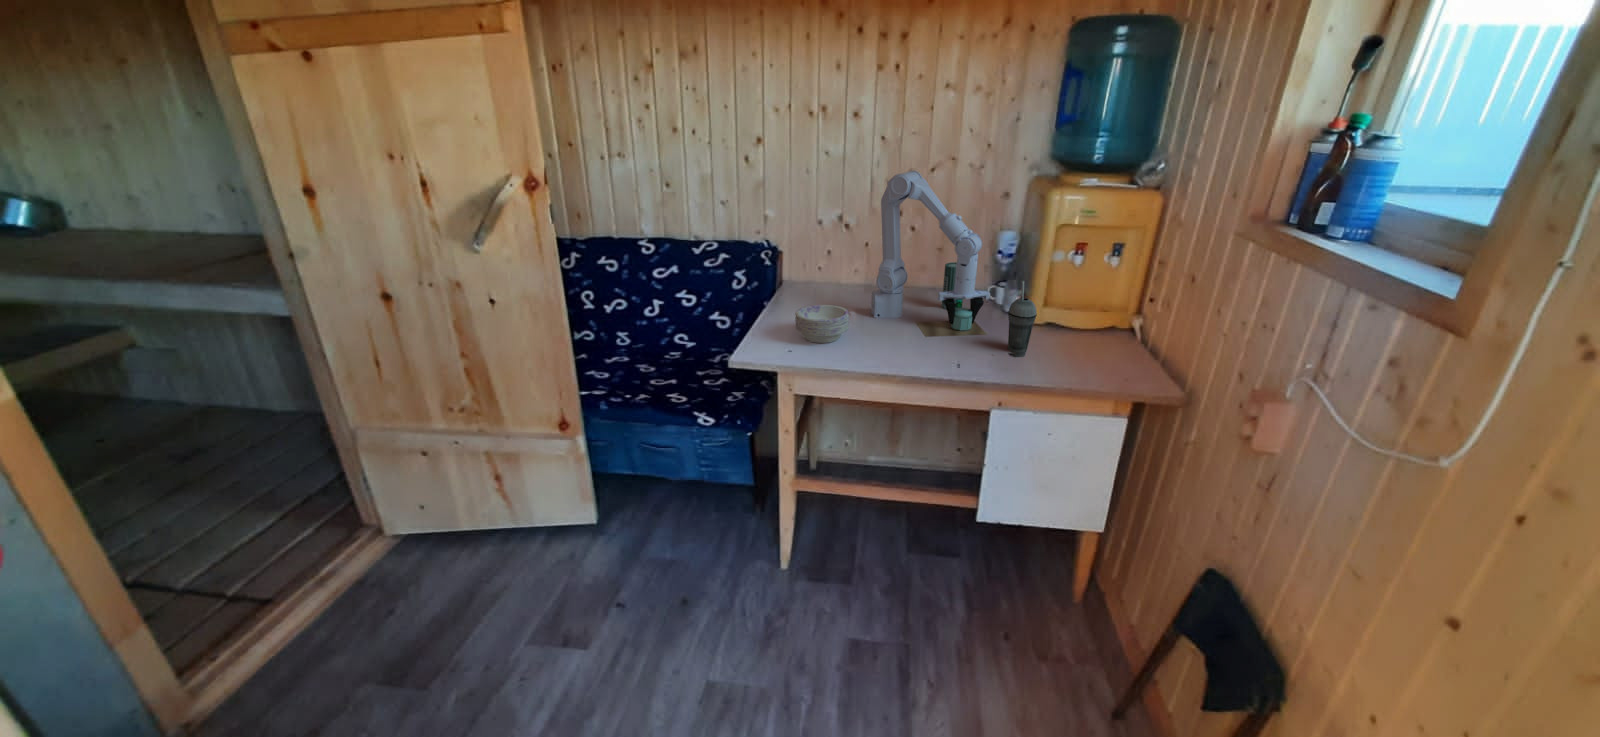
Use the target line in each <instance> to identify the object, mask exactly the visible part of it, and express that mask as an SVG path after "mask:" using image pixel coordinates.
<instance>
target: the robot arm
mask: <svg viewBox="0 0 1600 737" xmlns="http://www.w3.org/2000/svg"><path fill="white" fill-rule="evenodd" d="M886 185H887V186H886V188H885V190H884V192H883V194H882V196H881V201H880V210H881V211H880V212H881V214H880V215H881V236H882V238H881V240H882V246H881V247H882V261H881V263H880V265H879V266H878V275H877V277H876V279H875V280H876V281H875V282H876V283H875V284H876V286H877V288H878V290H873V291H872V292H871V303H870V304H871V305H870V314H871V315H872V317H873V319H897V318H901V317H902V316H903V304H904V303H903V301H904V285H905V284H906V283H907V281H908V273H907V270H906V268H905V261H904V260H903V259H902V248H901V245H902V244H901V242H902V241H901V207H900V206H901V205H902V203H904V202H905V200H907V199H908V200H909V199H910V200H915V201H920V202H921V203H922V204H923V206H925V207H926V208H927V209H928V211H929V212H930V213H932V215H933V216H934V217H935V218H936V219H938V222H939V224H938V225H939V226H938V227H939V229H940V230H941V232H943V234H944V235H945V236H946V237H947V239H948V240H949V241H950V242H951V243H952V244H953V245H954V252H955V254H956V256H957V258H956V262H957V265H956V276H955V286H954V290H953V291H946V292H943V291H938V293H937V300H939V302H940V301H941V302H942V301H944V303H945V306H946V309H947V310H946V309H945V310H946V312H947V316H948V321H949V323H950V324H953V322H954V311H955V307H956V304H955V303H954V302H955V301H954V299H963V300H969V301H970V302H969V303H970V304H969V306H970V307H969V309H970V310H972V324H973V323H974V321H975V319H976V317H977V315H978V313H979V311H980V309H981V308H982V307H983V306H984V304H985V301H984V300H983V299H985V300H990V295H991V293H990V292H989V291H988V290H978V289H977V290H976V280H977V272H978V259H979V252H981V250H982V246H983V242H982V241H983V240H982V238H981V237H980V235H979V234H977V233H975V232H974V231H973V230H972V229H969V227H967V225H966V224H965V222H964V221H963V220H962V219H963V217H962V216H961V215H960V214H959V215H958V214H957V213H956V212H955V213H953V212H949V211H948V210H947V208H946V206H944V204H943V203H942V201H941V200H940V199H939V197H938V196H937V194H935V192H934V190H932V188H931V186H930V185H929V182H928V181H927V180H926V178H924V177H923V176H922V175H921V173H920V172H919V171H917V170H909V171H907V172H903V173H897V174H895V175H893V176H892V177H891V178H889V180H888V181H887V184H886Z"/></svg>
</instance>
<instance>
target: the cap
mask: <svg viewBox="0 0 1600 737" xmlns="http://www.w3.org/2000/svg"><path fill="white" fill-rule="evenodd" d="M971 325H972V310H970V308H967V307H962V308H955V311H954V322H953V324H951V327H952V328H953V329H956V330H969V329H971Z"/></svg>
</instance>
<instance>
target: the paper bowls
mask: <svg viewBox="0 0 1600 737" xmlns="http://www.w3.org/2000/svg"><path fill="white" fill-rule="evenodd" d="M794 319H795V330H796V331H797V332H798V333H800V334H802V336H803V337H804V338H805V339H806V340H807V341H809V342H812V343H815V342H816V343H817V344H827V343H833V342H836V341H838V340H839V339H840V338H841V336H842V334H845V333H846V332H848V330H849V327H850V326H849V325H850V321H849V320H850V312H849V311H848V309H846V308H844V307H842V306H838V305H834V304H833V305H831V304H814V305H809V306H808V305H806V306H803V307H800V308H798V309H797V310H796V312H795V318H794Z"/></svg>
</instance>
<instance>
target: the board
mask: <svg viewBox="0 0 1600 737" xmlns="http://www.w3.org/2000/svg"><path fill="white" fill-rule="evenodd" d="M914 323H915V324H916V326H917V327H918V328H919V330H920V331H921V332H922V334H923V336H925V337H926V338H929V337H930V338H931V337H933V338H934V337H957V336H958V337H959V336H961V337H963V336H987V335H988V333H987V332H986V331H985V330H984V329H983V328H982V327H981V326H980V325H979V324H978V323H977V322H976V321H975V320H974V323H973V324H972V325H971V329H969V330H964V331H960V330H955V329H953V328H952V327H951V324H950V323H949V320H947V321H945V320H944V321H915V322H914Z"/></svg>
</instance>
